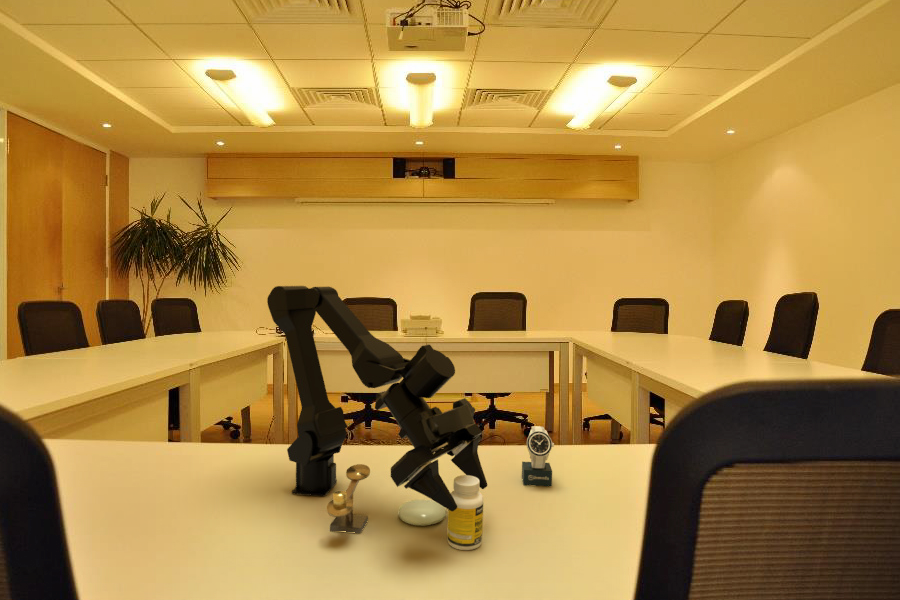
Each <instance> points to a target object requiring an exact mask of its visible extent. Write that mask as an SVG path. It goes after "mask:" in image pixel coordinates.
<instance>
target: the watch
mask: <svg viewBox="0 0 900 600" xmlns="http://www.w3.org/2000/svg"><path fill="white" fill-rule="evenodd" d="M530 428H531V429H530V432H529V434H528V437H527V439H526V448H527V451H528V453H529V456H530V457H529V458H530V461H521V479H523V480H522V484H523V486H527V485H536V486H535V487H549V486H553V468H552V467H551V463H550V462H546V461H547V460H548V459H549V456H550V453H551V451H552V448H554V447H555V443H554V442H553V441H552V438H551V437H550V435H549V434H548V431H547V430H546V429H545V428H544V426H539V425H538V426H537V425H536V426H533V425H532V426H531V427H530Z"/></svg>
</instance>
